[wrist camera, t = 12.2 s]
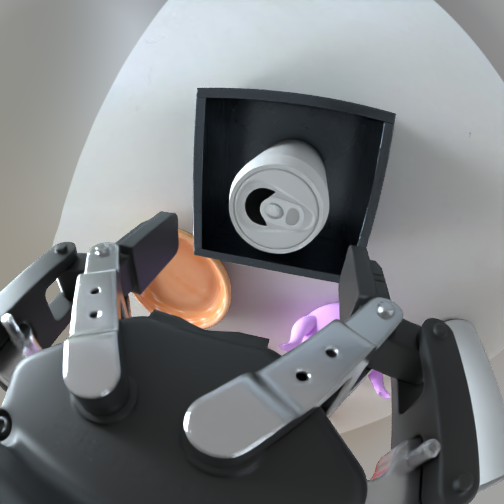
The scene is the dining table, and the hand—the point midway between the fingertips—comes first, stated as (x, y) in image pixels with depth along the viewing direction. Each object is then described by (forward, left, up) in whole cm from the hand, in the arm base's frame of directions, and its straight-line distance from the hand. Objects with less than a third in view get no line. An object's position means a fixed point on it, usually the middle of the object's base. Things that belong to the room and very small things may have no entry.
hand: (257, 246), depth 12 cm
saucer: (+16, -13, -17) cm, 27 cm away
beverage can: (0, 0, -16) cm, 16 cm away
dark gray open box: (0, 0, -17) cm, 17 cm away
